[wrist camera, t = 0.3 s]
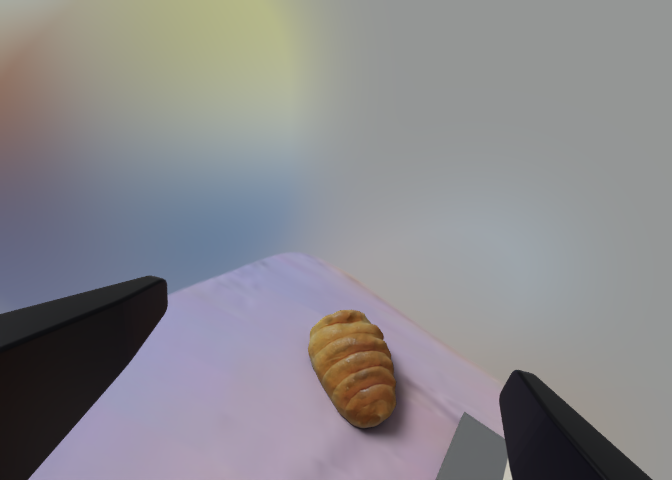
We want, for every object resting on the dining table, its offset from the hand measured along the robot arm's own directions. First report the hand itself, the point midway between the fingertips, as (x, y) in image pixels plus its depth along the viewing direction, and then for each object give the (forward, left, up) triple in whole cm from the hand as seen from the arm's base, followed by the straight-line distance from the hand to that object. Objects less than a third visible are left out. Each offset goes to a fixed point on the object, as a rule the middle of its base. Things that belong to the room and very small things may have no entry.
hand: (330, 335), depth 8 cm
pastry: (+13, -3, -17) cm, 22 cm away
